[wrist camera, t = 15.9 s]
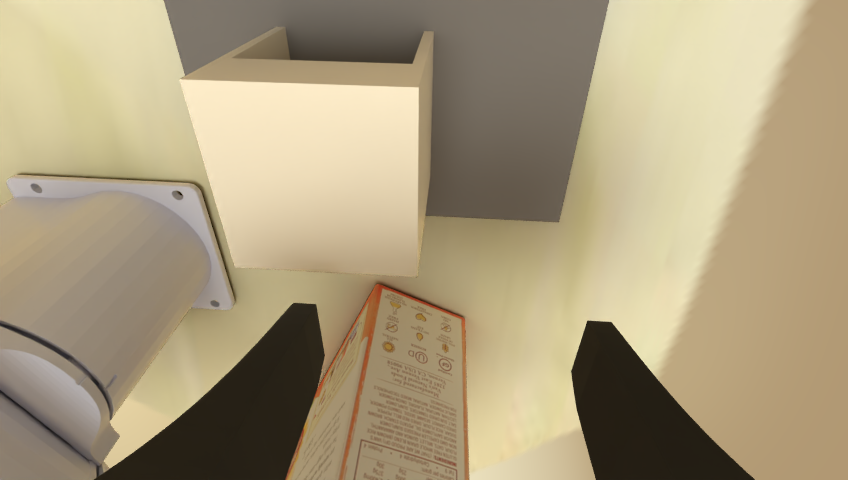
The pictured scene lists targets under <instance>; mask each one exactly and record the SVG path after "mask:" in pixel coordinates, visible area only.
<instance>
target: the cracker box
mask: <svg viewBox="0 0 848 480" xmlns="http://www.w3.org/2000/svg"><path fill="white" fill-rule="evenodd" d="M465 332H466V331H465V319H464V318H463V317H460V316H458V315H455V314H453V313H450V312H447V311H445V310H442V309H440V308H437V307H435V306H432V305H430V304H428V303H425V302H422V301H420V300H417V299H415V298H413V297H410V296H408V295H405V294H403V293H400V292H398V291H395V290H393V289H390V288H388V287H385V286H383V285H380V284H376V285H375V287H374V289H373V290H372V292H371V294H370V296H369V298H368V299H367V301H366V303H365V305H364V307H363V308H362V310H361V312H360V314H359V315H358V317H357V319H356V321H355V323H354V324H353V326H352V328H351V330H350V332H349V333H348V335H347V337H346V339H345V341H344V342H343V344H342V346H341V348H340V350H339V352H338V353H337V355H336V357H335V359H334V360H333V362H332V364H331V366H330V368H329V369H328V371H327V373H326V375H325V377H324V378H323V380H322V382H321V384H320V386H319V387H318V389H317V391H316V394H315V397H314V400H313V403H312V406H311V408H310V411H309V414H308V417H307V420H306V423H305V425H304V428H303V431H302V434H301V437H300V439H299V442H298V445H297V448H296V450H295V453H294V456H293V459H292V462H291V464H290V467H289V470H288V473H287V476H286V479H285V480H469V449H468V412H467V373H466V341H465Z"/></svg>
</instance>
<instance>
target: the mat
mask: <svg viewBox="0 0 848 480" xmlns="http://www.w3.org/2000/svg"><path fill="white" fill-rule="evenodd" d="M164 2H165V6H166V9H167V13H168V16H169V20H170V24H171V27H172V31H173V34H174V38H175V41H176V45H177V48H178V52H179V55H180V59H181V62H182V66H183V69H184V73H185V76H186V75H188V74H190V73H192V72H194V71H196V70H197V69H199V68H201V67H203V66H205V65H207V64H208V63H210V62H212V61H214V60H216V59H218V58H220V57H221V56H223V55H225V54H227V53H229V52H231V51H232V50H234V49H236V48H238V47H240V46H242V45H243V44H245V43H247V42H249V41H251V40H253V39H255V38H256V37H258V36H260V35H262V34H264V33H266V32H267V31H269V30H271V29H273V28H275V27H285V29H286V36H287V42H288V49H289V56H290V60H304V61H336V62H367V63H399V64H413V61H414V58H415V55H416V53H417V50H418V47H419V44H420V41H421V39H422V36H423V33H424V31H434V39H433V81H432V123H431V165H430V182H429V190H428V198H427V206H426V214H425V216H444V217H464V218H484V219H504V220H524V221H544V222H559V220H560V215H561V211H562V206H563V202H564V197H565V193H566V189H567V184H568V180H569V175H570V171H571V166H572V162H573V158H574V153H575V149H576V144H577V140H578V136H579V131H580V127H581V122H582V118H583V113H584V109H585V105H586V100H587V96H588V91H589V87H590V82H591V78H592V74H593V69H594V65H595V60H596V56H597V52H598V47H599V43H600V38H601V34H602V29H603V25H604V21H605V16H606V12H607V7H608V3H609V0H164Z"/></svg>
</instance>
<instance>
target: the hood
mask: <svg viewBox="0 0 848 480" xmlns="http://www.w3.org/2000/svg"><path fill="white" fill-rule="evenodd" d="M433 39H434V31H424V33H423V36H422V39H421V41H420V44H419V47H418V50H417V53H416V55H415V58H414V61H413V64H399V63H367V62H336V61H304V60H290V56H289V49H288V42H287V36H286V29H285V27H275V28H273V29H271V30H269V31H267V32H266V33H264V34H262V35H260V36H258V37H256V38H255V39H253V40H251V41H249V42H247V43H245V44H243V45H242V46H240V47H238V48H236V49H234V50H232V51H231V52H229V53H227V54H225V55H223V56H221V57H220V58H218V59H216V60H214V61H212V62H210V63H208V64H207V65H205V66H203V67H201V68H199V69H197V70H196V71H194V72H192V73H190V74H188V75H186V76H184V77H183V78H181V79H179V80H180V84H181V87H182V91H183V94H184V97H185V101H186V104H187V108H188V111H189V114H190V118H191V121H192V124H193V128H194V131H195V135H196V138H197V141H198V145H199V148H200V152H201V155H202V158H203V162H204V165H205V169H206V172H207V175H208V179H209V182H210V185H211V189H212V192H213V196H214V199H215V202H216V206H217V209H218V213H219V216H220V219H221V223H222V226H223V229H224V233H225V236H226V240H227V243H228V246H229V250H230V253H231V257H232V260H233V263H234V267H239V268H257V269H275V270H293V271H311V272H330V273H348V274H366V275H384V276H402V277H418V269H419V261H420V253H421V245H422V237H423V229H424V221H425V214H426V206H427V198H428V190H429V182H430V165H431V123H432V81H433Z"/></svg>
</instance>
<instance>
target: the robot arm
mask: <svg viewBox="0 0 848 480" xmlns="http://www.w3.org/2000/svg"><path fill="white" fill-rule="evenodd" d="M6 184H7V186H8V188H9V190H10V192H11V193H12V195H13V197H14V198H12V199H11V200H9V201H7V202H6V203H4V204H2V205H1V206H0V480H285V479H286V476H287V473H288V470H289V467H290V464H291V462H292V459H293V456H294V453H295V450H296V448H297V445H298V442H299V439H300V437H301V434H302V431H303V428H304V425H305V423H306V420H307V417H308V414H309V411H310V408H311V406H312V403H313V400H314V397H315V394H316V391H317V387H318V383H319V379H320V375H321V370H322V365H323V361H324V356H325V354H324V348H323V342H322V336H321V330H320V324H319V318H318V313H317V307H316V304H302V303H293V304H292V305H291V306H290V307H289V308H288V309H287V310H286V312H285V313H284V314H283V315H282V316H281V317H280V318H279V320H278V321H277V322H276V323H275V324H274V325H273V326H272V327H271V329H270V330H269V331H268V332H267V333H266V334H265V335H264V336H263V337H262V338H261V340H260V341H259V342H258V343H257V344H256V345H255V346H254V347H253V348H252V349H251V350H250V351H249V352H248V353H247V354H246V355H245V356H244V357H243V358H242V360H241V361H240V362H239V363H238V364H237V365H236V366H235V367H234V368H233V369H232V370H231V371H230V372H229V373H227V374H226V375H225V376H224V377H223V378H222V379H221V380H220V381H219V382H218V383H217V384H216V385H215V386H214V387H213V388H212V389H211V390H210V391H209V392H208V393H206V394H205V395H204V396H203V397H202V398H201V399H200V400H199V401H197V402H196V403H195V404H194V405H193V406H192V407H191V408H189V409H188V410H187V411H186V412H185V413H183V414H182V415H181V416H180V417H179V418H177V419H176V420H175V421H174V422H173V423H171V424H170V425H169V426H168V427H166V428H165V429H164V430H162V431H161V432H160V433H159V434H157V435H156V436H155V437H153V438H152V439H151V440H149V441H148V442H147V443H145V444H144V445H143V446H141V447H140V448H139V449H137V450H136V451H135V452H134V453H132V454H131V455H129V456H128V457H126V458H125V459H124V460H122V461H121V462H119V463H118V464H116V465H115V466H113V467H112V468H110V469H109V467H108V466H107V465H106V464H105V462H104V459H105V458H106V456H107V455H108V453H109V452H110V450H111V449H112V448H113V446H114V445H115V443H116V442H117V440H118V439H119V437H120V436H119V434H118V433H117V432H116V431H115V430H114V429H113V427H112V426H111V424H110V420H111V419H112V418H113V416H114V415H115V413H116V412H117V410H118V409H119V408H120V406H121V405H122V403H123V402H124V401H125V399H126V398H127V397H128V395H129V394H130V392H131V391H132V389H133V388H134V387H135V385H136V384H137V382H138V381H139V380H140V378H141V377H142V375H143V374H144V373H145V371H146V370H147V368H148V367H149V366H150V364H151V363H152V361H153V360H154V359H155V357H156V356H157V354H158V353H159V351H160V350H161V349H162V347H163V346H164V344H165V343H166V342H167V340H168V339H169V337H170V336H171V335H172V333H173V332H174V330H175V329H176V328H177V326H178V325H179V323H180V322H181V321H182V319H183V318H184V316H185V315H186V313H187V312H188V311H189V309H190V308H201V309H217V310H230V309H232V307H233V305H234V304H235V299H234V296H233V293H232V290H231V286H230V283H229V280H228V277H227V273H226V270H225V267H224V264H223V261H222V257H221V254H220V251H219V248H218V244H217V241H216V238H215V235H214V231H213V228H212V225H211V222H210V218H209V215H208V212H207V209H206V206H205V202H204V199H203V196H202V193H201V191H200V189H199V188H198V187H197V186H196V185H194V184H191V183H179V182H159V181H138V180H117V179H96V178H75V177H54V176H33V175H13V176H12V177H10V178H8V179H7V181H6ZM39 186H40V187H39ZM176 190H177V191H179V192H181V193H182V195H183V196H181V195H179V194H178V193H177V191H176ZM216 301H217V302H216ZM571 373H572V381H573V388H574V395H575V401H576V407H577V412H578V416H579V420H580V423H581V427H582V431H583V434H584V438H585V441H586V445H587V449H588V452H589V456H590V460H591V463H592V467H593V470H594V474H595V478H596V480H755V479H754V478H753V477H751V476H750V475H749V474H748V473H747V472H746V471H745V470H743V468H742V467H740V466H739V465H738V464H737V463H736V462H735V461H734V460H733V459H732V458H731V457H730V456H729V455H728V454H727V453H726V452H725V451H724V450H722V449H721V448H720V447H719V446H718V445H717V444H716V443H715V442H714V441H713V440H712V439H711V438H710V437H709V436H708V435H707V434H706V433H705V432H704V431H703V430H702V429H701V428H700V426H699V425H698V424H697V423H696V422H695V421H694V420H693V419H692V418H691V417H690V416H689V415H688V414H687V413H686V412H685V410H684V409H683V408H682V407H681V406H680V405H679V404H678V403H677V401H676V400H675V399H674V398H673V397H672V396H671V395H670V393H669V392H668V391H667V390H666V389H665V388H664V387H663V385H662V384H661V383H660V382H659V381H658V379H657V378H656V377H655V376H654V375H653V373H652V372H651V371H650V370H649V369H648V367H647V366H646V365H645V364H644V362H643V361H642V360H641V359H640V357H639V356H638V355H637V354H636V352H635V351H634V350H633V349H632V347H631V346H630V345H629V344H628V342H627V341H626V340H625V339H624V337H623V336H622V335H621V333H620V332H619V331H618V330H617V328H616V327H615V326H614V325H613V324H612V322H601V321H587V324H586V327H585V330H584V333H583V336H582V339H581V343H580V346H579V349H578V352H577V355H576V358H575V361H574V365H573V368H572V371H571Z"/></svg>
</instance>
